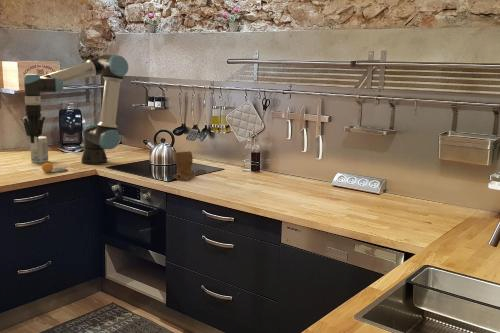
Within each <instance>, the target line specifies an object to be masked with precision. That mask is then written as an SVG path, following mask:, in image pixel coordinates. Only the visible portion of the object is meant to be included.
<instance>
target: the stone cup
mask: <svg viewBox="0 0 500 333" xmlns="http://www.w3.org/2000/svg"><path fill="white" fill-rule="evenodd" d="M193 161H194V160H193V152H192V151H191V150H190V151H188V150H187V151H176V152H174V162H175V164H176V168H177V172H176V173H175V174H173V175H172V177H173V178H174V179H175V180H178V181H185V180H189V179H191V178H194V177H195V176H197V175H198V173H195V172H193V171H192V165H193Z"/></svg>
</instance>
